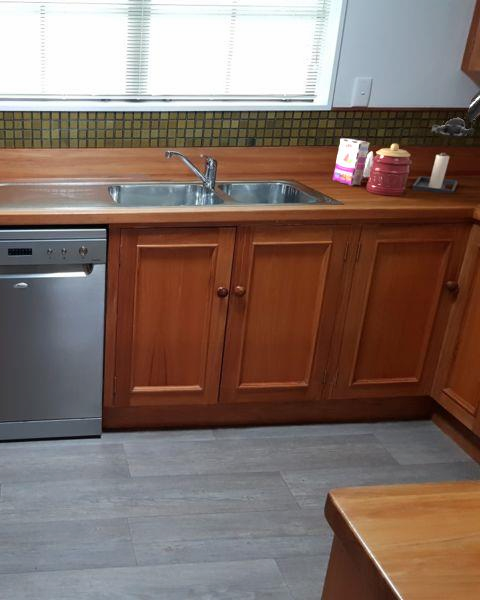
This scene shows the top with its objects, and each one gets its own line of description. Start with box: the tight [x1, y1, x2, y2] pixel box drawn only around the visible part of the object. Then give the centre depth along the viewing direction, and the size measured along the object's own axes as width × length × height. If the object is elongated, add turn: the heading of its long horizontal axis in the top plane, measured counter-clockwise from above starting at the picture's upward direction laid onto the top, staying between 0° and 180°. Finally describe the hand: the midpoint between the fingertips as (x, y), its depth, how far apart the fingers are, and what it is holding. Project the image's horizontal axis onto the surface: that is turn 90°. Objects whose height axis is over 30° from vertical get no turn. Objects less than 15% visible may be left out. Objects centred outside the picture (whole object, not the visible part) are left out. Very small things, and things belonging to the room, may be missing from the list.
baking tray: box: [411, 176, 459, 195], centre depth 234 cm, size 14×22×2 cm, turn 146°
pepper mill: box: [429, 152, 450, 188], centre depth 232 cm, size 4×4×13 cm
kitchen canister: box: [365, 143, 412, 197], centre depth 221 cm, size 13×13×18 cm
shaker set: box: [362, 151, 374, 180], centre depth 244 cm, size 12×4×11 cm, turn 108°
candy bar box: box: [332, 138, 371, 187], centre depth 235 cm, size 11×5×16 cm, turn 17°
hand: (450, 132), depth 236 cm, fingers open, 8 cm apart
